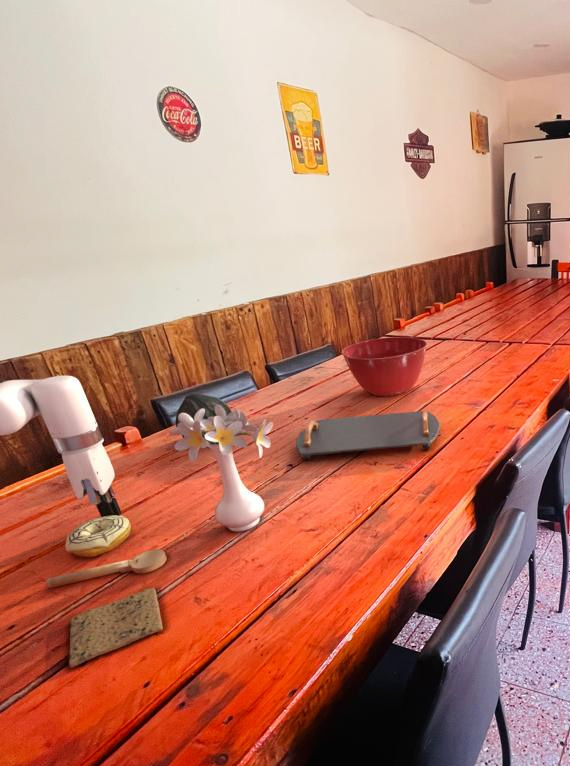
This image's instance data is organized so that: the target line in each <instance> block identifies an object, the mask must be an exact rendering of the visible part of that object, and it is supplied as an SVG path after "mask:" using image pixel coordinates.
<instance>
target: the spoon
mask: <svg viewBox="0 0 570 766" xmlns="http://www.w3.org/2000/svg"><path fill="white" fill-rule="evenodd" d="M166 561H167V555H166V553H165V551H164V549H163V550H162V549H159V548H158V549H157V548H156V549H150V550H147V551H144V552H142V553H141V552H140V554H138V555H136V556H135V557H134V558H130V559H124V560H120V561H116V562H112V563H107V564H102V565H99V566H95V567H94V566H93V567H91V568H86V569H81V570H77V571H74V572H70V573H65V574H60V575H56V576H51V577H49V578H48V579H46V581H45V586H46V587H47V588H50V589H53V588H57V587H62V586H65V585H70V584H75V583H79V582H83V581H87V580H91V579H95V578H99V577H103V576H107V575H111V574H116V573H119V572H120V574H123V573H128V572H131V571H132V572H133V573H134V574H147V573H150V572H153V571H155V570H157V569H159V568H161V567H163V565H164V564H166Z"/></svg>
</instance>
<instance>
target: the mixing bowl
mask: <svg viewBox="0 0 570 766" xmlns="http://www.w3.org/2000/svg"><path fill="white" fill-rule="evenodd" d="M427 346H428V342H427V341H426V340H424V339H422V338H418V337H411V336H392V337H391V336H390V337H388V336H387V337H381V338H380V337H377V338H372V339H367V340H363V341H358V342H355V343H353V344H349V345H347V346H346V347H344V348H343V349H342V350H341V355H342V356H343V358H344V361H345V363H346V365H347V367H348V369H349V371H350V373H351V375H352V376H353V378H354V379H355V380H356V382H357V383H358V385H359V386H360V387H361V388H362V389H363V390H364V391H366V392H367V393H369V394H372V395H374V396H376V397H392V396H398V395H402V394H404V393H406V392H408V391H409V390H410V389H412V388H413V387H415V385H416V384H417V382H418V380H419V377H420V375H421V372H422V370H423V365H424V362H425V356H426V350H427Z"/></svg>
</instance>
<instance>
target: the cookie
mask: <svg viewBox="0 0 570 766" xmlns="http://www.w3.org/2000/svg"><path fill="white" fill-rule="evenodd" d="M69 628H70V629H69V633H70V634H69V655H68V659H69V660H68V665H69V668H71V669H72V668H74V667H77V666H78V665H82V664H83V663H84V662H87V661H89V660H91V659H93V658H96V657H99V656H101V655H103V654H106V653H109V652H111V651H114V650H117V649H120V648H122V647H124V646H127V645H129V644H131V643H133V642H136V641H137V640H140V639H143V638H144V637H147V636H149V635H152V634H155V633H159V632H161V631H163V621H162V616H161V611H160V604H159V601H158V595H157V591H156V588H155V587H151V588H148V589H147V588H146V589H143V590H141V591H138V592H136V593H132V594H130V595H128V596H126V597H123V598H120V599H118V600H115V601H113V602H110V603H107V604H104V605H100V606H98V607H95V608H90V609H87V611H84V612H82V613H79V614H76V615H75V616H72V618H71V619H70V623H69Z"/></svg>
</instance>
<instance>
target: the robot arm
mask: <svg viewBox="0 0 570 766" xmlns="http://www.w3.org/2000/svg"><path fill="white" fill-rule="evenodd" d="M90 405H91V404H90V403H89V401H88V398H87V395H86V393H85V391H84V388H83V385H82V384H81V382H80V380H79V379H78V378H76V377H75V376H72V375H56V376H51V377H46V378H43V379H11V380H5V381H2V382H0V436H9V435H12V434H14V433H17V432H18V431H19V430H21V429H22V428H23V427H24V426H25V425H26V424H28V422H29V421H31V420H33V419H34V418H36V417H38V416H41V418H42V419H43V422H44V424H45V426H46V428H47V430H48V432H49V435H50V437H51V439H52V441H53V444H54V445H55V449H56V450H57V452H58V454H61V458H62V462H63V465H64V469H65V472H66V475H67V477H68V480H69V483H70V485H71V488H72V490H73V491H72V492H73V493H74V495H75V498H76V499H78V500H83V499H84V498H85V496H86V495H87V497H88V500H89V503H90V505H91V506H94V505H95V506H96V508H97V512H98V513H99V515H100V517H106V516H114V515H116V516H121V514H122V510H121V507H120V505H119V503H118V501H117V498H116V497H115V495H116V494H115V491H114V490H113V485H112V483H113V481H114V479H115V473H116V472H115V470H114V467H113V464H112V462H111V460H110V457H109V455H108V453H107V451H106V448H105V447H104V445H103V442H104V441H105V440H104V437H103V435H102V431H101V430H100V426H99V425H98V423H97V421H96V418H95V415H94V413H93V411H92V408H91V406H90Z"/></svg>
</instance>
